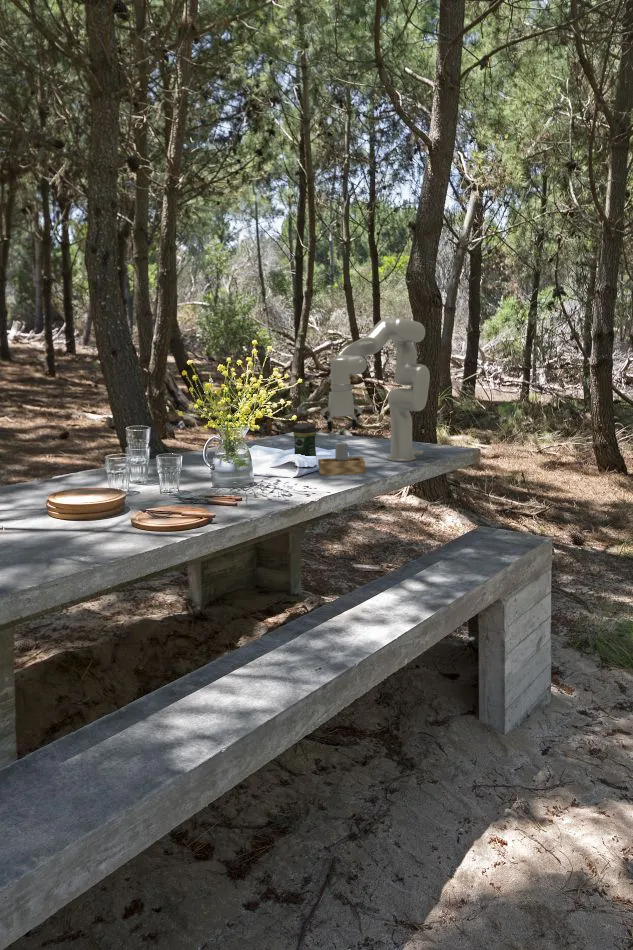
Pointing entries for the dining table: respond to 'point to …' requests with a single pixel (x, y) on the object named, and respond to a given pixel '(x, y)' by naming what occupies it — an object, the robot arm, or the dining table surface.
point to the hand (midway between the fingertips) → (342, 430)
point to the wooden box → (341, 466)
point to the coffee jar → (305, 439)
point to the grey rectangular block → (341, 452)
